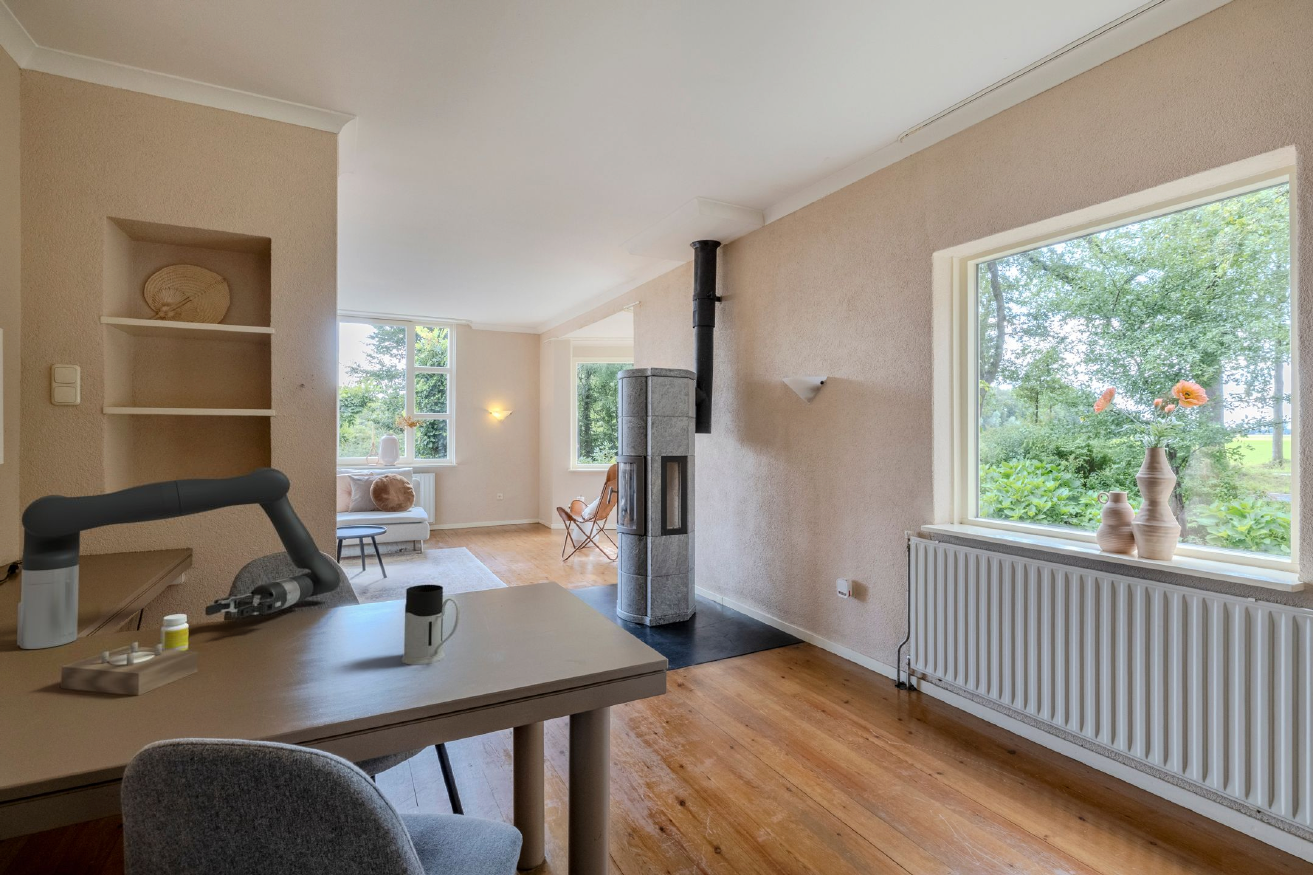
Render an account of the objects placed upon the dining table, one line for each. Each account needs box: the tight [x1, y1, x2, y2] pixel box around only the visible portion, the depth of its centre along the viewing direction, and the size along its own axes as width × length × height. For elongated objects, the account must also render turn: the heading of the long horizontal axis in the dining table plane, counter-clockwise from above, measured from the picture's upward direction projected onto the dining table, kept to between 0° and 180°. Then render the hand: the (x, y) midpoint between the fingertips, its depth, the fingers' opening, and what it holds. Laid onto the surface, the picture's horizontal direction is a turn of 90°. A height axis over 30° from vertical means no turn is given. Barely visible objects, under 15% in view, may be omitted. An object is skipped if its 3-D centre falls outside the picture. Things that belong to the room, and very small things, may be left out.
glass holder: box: [401, 584, 461, 666], centre depth 134 cm, size 9×14×15 cm, turn 64°
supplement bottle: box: [160, 613, 190, 651], centre depth 134 cm, size 5×5×8 cm
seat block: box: [60, 641, 199, 697], centre depth 120 cm, size 17×12×6 cm
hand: (222, 612), depth 145 cm, fingers open, 8 cm apart
